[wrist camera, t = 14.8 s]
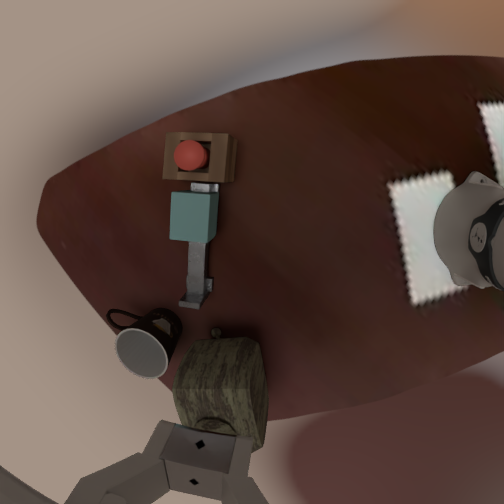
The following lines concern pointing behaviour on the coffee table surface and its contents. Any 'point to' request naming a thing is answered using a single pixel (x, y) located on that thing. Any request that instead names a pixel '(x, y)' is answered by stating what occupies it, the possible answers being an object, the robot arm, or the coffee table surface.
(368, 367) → the coffee table surface
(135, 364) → the coffee mug
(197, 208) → the block
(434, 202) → the coffee table surface
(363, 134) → the coffee table surface
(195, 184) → the rail
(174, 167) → the wooden box
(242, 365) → the tabletop clock
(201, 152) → the red rounded peg
